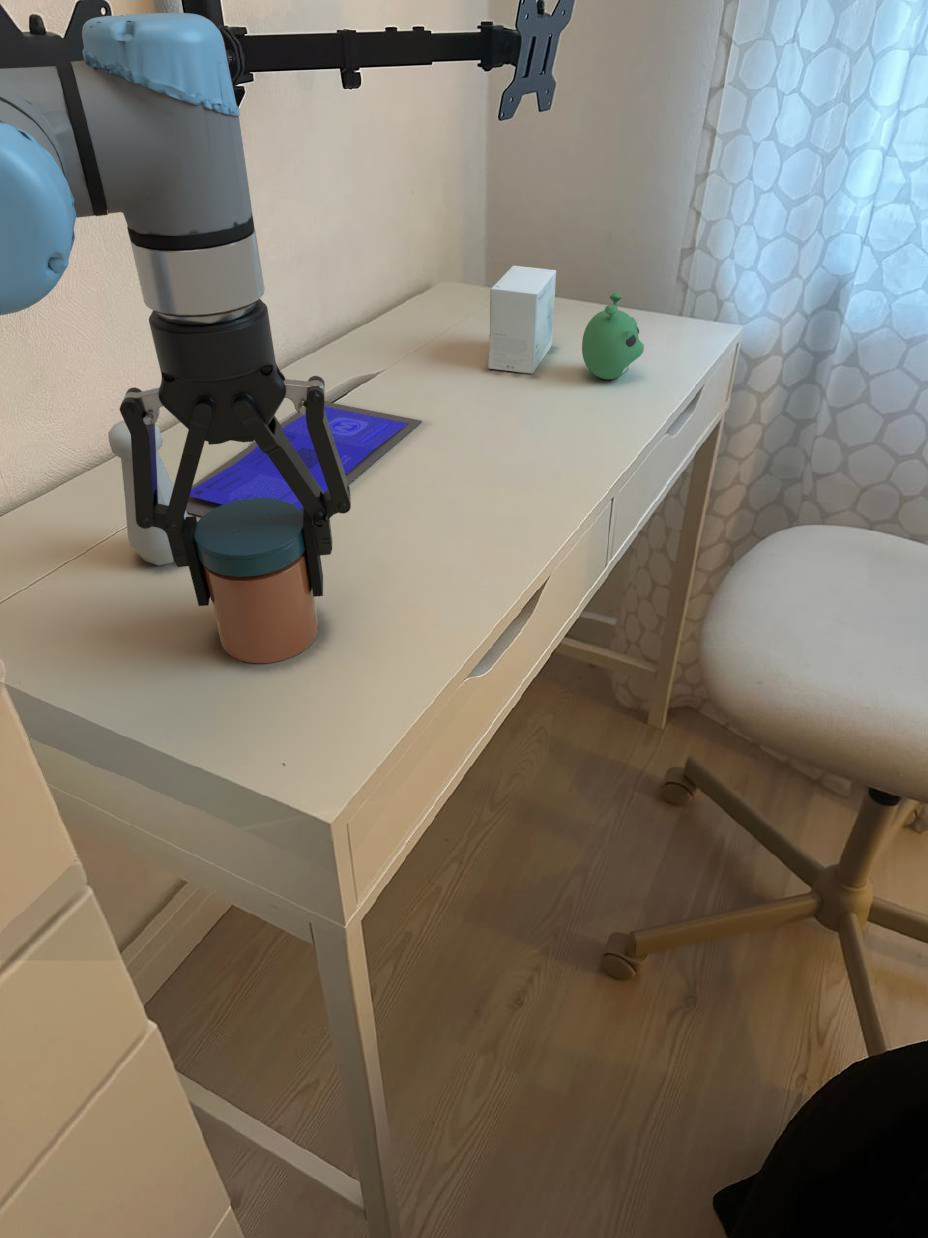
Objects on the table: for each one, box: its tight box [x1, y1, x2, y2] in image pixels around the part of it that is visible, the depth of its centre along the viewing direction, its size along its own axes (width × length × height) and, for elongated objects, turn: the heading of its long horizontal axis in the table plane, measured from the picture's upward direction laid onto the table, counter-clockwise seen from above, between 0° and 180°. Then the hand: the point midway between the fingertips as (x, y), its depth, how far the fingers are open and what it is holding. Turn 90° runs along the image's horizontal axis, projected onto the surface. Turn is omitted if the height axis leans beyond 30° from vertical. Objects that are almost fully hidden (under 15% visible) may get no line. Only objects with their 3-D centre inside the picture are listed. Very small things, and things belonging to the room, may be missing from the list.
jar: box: [203, 549, 320, 664], centre depth 71 cm, size 8×8×10 cm
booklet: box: [190, 409, 404, 513], centre depth 97 cm, size 12×25×1 cm, turn 154°
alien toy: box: [581, 292, 645, 380], centre depth 111 cm, size 7×8×10 cm
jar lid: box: [194, 498, 306, 577], centre depth 68 cm, size 8×8×2 cm
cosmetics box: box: [487, 265, 557, 375], centre depth 117 cm, size 10×6×10 cm, turn 162°
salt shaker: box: [107, 420, 190, 567], centre depth 80 cm, size 6×6×13 cm
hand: (262, 590), depth 71 cm, fingers closed on jar lid, 8 cm apart
